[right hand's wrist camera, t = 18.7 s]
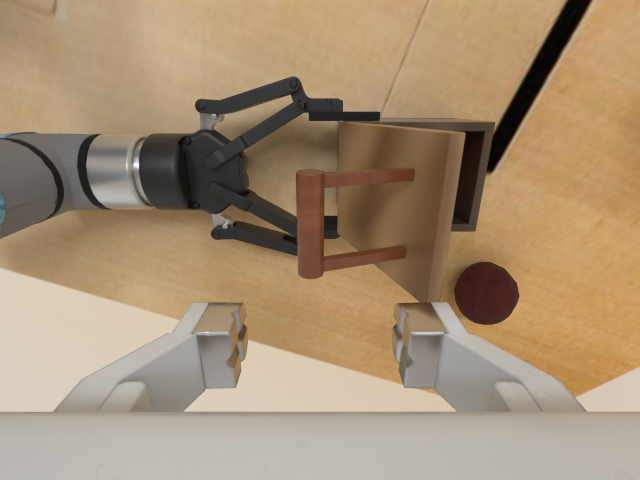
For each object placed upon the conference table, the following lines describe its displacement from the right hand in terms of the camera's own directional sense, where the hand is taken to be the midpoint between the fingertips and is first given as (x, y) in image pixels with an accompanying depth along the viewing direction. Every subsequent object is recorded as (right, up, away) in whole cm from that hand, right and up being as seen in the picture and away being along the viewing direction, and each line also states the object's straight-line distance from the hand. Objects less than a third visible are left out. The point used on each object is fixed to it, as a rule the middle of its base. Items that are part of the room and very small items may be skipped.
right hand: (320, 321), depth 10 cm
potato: (+21, -3, +35) cm, 41 cm away
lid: (+5, +6, +14) cm, 16 cm away
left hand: (+6, +9, +24) cm, 26 cm away
